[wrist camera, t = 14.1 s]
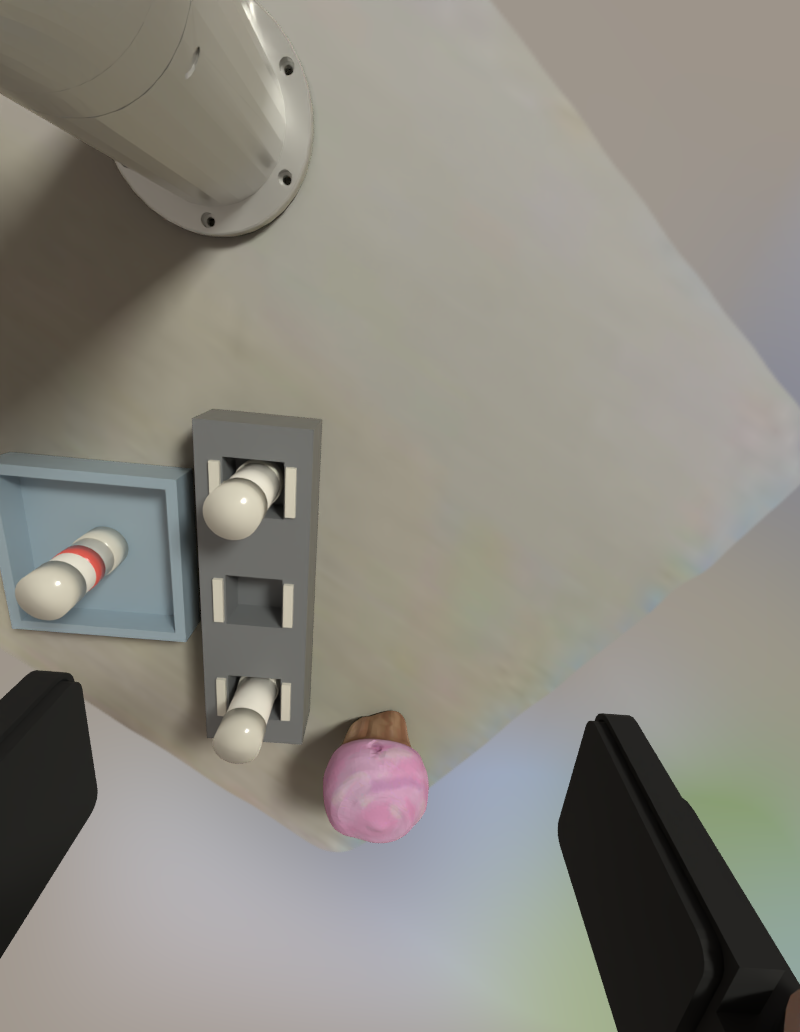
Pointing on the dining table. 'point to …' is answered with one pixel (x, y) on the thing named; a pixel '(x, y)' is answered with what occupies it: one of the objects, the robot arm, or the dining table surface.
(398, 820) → the cupcake
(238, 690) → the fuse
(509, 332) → the dining table surface
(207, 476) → the fuse holder
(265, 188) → the robot arm
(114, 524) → the tray
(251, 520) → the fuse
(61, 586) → the cylinder
